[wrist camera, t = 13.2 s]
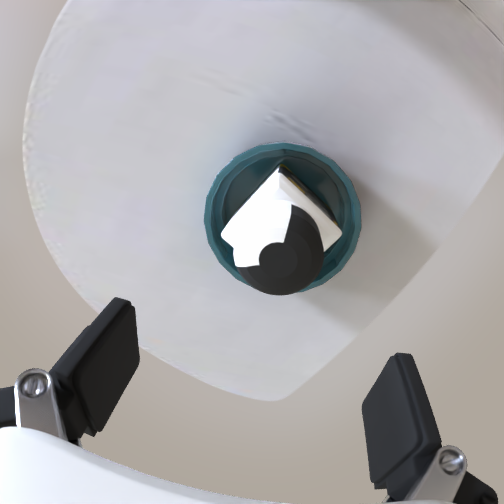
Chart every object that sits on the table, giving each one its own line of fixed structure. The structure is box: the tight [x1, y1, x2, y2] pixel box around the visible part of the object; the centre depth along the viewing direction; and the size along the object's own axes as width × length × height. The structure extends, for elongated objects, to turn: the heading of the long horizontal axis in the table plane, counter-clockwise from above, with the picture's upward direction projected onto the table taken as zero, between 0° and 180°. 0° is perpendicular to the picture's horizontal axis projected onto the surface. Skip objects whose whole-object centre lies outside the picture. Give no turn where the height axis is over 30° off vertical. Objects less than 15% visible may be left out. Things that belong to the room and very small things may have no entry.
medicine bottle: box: [221, 164, 342, 295], centre depth 25 cm, size 7×7×12 cm
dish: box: [204, 141, 361, 293], centre depth 29 cm, size 14×14×4 cm
